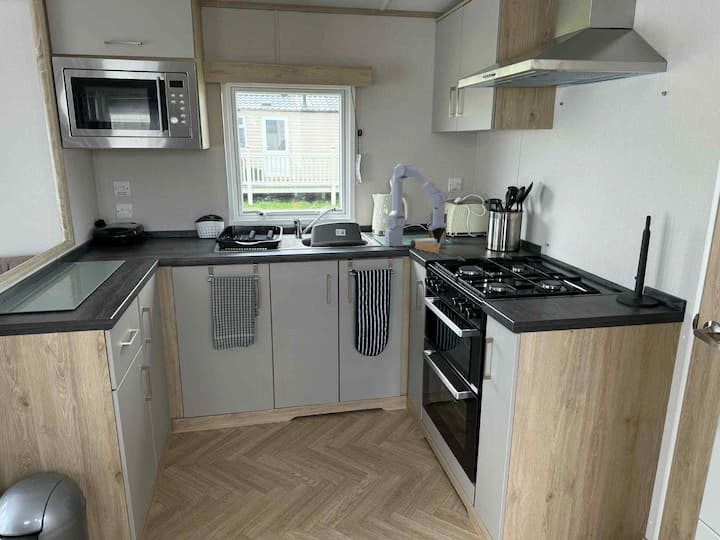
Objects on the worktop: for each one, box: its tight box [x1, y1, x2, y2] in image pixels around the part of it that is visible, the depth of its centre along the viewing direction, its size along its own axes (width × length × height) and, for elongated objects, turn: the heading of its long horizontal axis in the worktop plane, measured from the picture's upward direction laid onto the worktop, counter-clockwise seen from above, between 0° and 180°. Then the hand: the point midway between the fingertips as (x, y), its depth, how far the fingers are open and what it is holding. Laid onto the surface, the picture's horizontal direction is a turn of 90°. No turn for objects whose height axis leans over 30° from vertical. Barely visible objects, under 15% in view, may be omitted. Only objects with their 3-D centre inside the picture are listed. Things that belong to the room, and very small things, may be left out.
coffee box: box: [428, 212, 448, 244], centre depth 289 cm, size 9×6×16 cm
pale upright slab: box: [410, 237, 442, 250], centre depth 275 cm, size 15×7×4 cm, turn 109°
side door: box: [416, 239, 440, 254], centre depth 263 cm, size 14×2×7 cm, turn 45°
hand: (437, 242), depth 261 cm, fingers closed
